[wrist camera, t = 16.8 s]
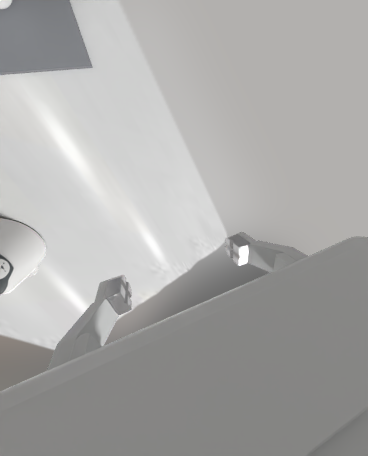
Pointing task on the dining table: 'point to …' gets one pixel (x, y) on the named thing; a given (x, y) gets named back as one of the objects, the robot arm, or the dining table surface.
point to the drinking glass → (5, 4)
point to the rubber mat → (40, 37)
